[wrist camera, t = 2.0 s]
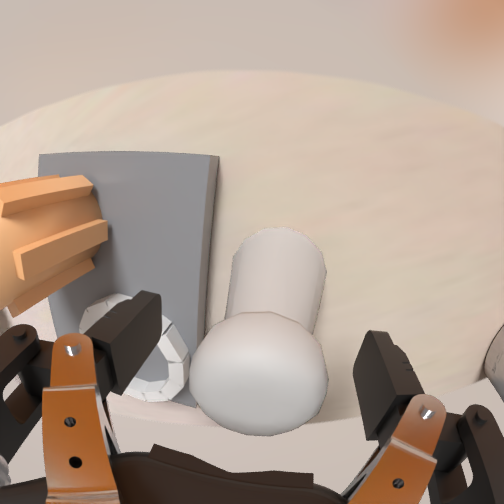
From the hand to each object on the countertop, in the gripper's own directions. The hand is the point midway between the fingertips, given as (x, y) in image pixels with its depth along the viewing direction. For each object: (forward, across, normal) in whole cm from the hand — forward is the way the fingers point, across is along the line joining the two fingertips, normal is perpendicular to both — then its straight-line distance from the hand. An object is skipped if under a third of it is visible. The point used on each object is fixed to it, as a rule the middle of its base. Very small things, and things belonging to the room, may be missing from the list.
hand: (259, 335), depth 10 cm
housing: (+10, +12, +4) cm, 16 cm away
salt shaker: (+10, 0, 0) cm, 10 cm away
